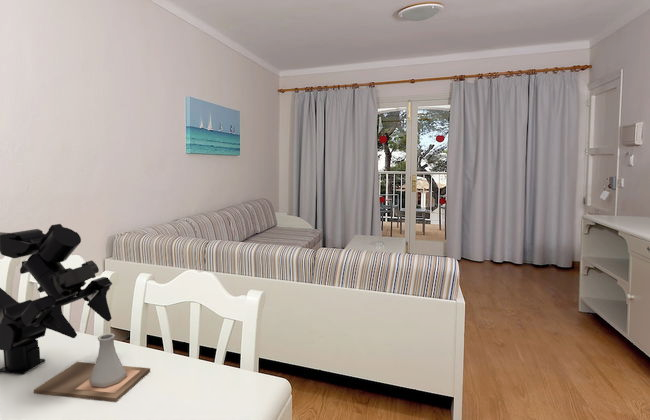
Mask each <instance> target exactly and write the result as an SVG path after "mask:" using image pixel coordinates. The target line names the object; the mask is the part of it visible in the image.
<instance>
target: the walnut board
mask: <svg viewBox="0 0 650 420" xmlns="http://www.w3.org/2000/svg"><path fill="white" fill-rule="evenodd" d="M95 363H96V362H95ZM95 363H94V362H86V361H85V362H84V361H83V362H82V361H75V363H73V364H71V365H70V366H68V367H67V368H65V369H64V370H62V371H60V372H59V373H58V374H56V375H55V376H53V377H51V378H50V379H49V380H47V381H45V382H44V383H42V384H40V385H39V386H38V387H35V388H34V389H33V394H38V395H45V396H46V395H48V396H57V397H66V398H76V399H84V400H94V401H105V402H113V403H116V402H118V401H119V400H120V399H121V398H122V397H124V396H125V394H127V393H128V392H129V391H130V390H131V389H133V388H134V387H135V386H136V384H138V383H139V382H141V380H143V378H145V377H146V376H147V375H148V374H149V373H151V367H150V368H149V367H141V366H128V365H123V367H124V369H125V371H126V373H127V375H128V376H126V377H125V378H124V379H123V380H121V381H120V382H119V383H116V384H113V385H110V386H107V387H96V386H92V385H91V383H90V382H89V379H90V376H91V373H92V371H93V368H94V366H95Z"/></svg>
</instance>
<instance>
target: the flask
mask: <svg viewBox="0 0 650 420" xmlns="http://www.w3.org/2000/svg"><path fill="white" fill-rule="evenodd" d="M115 338H116V335H115V334H114V333H110V332H109V333H104V334H101V335H100V336H97V340H98V343H99V347H98V355H97V357H96V360H95V366H94V368H93V371H92V373H91V376H90V379H89V382H90V383H91V385H92V386H96V387H107V386H110V385H113V384H116V383H119V382H120V381H121V380H123V379H124V378H125V377H126V376H128V375H127V373H126V371H125V369H124V367H123V366H124V365H123V363H122V362H121V360H120V357H119V355H118V353H117V351H116V346H115V342H114V341H115V340H114V339H115Z"/></svg>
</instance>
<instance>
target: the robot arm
mask: <svg viewBox="0 0 650 420" xmlns="http://www.w3.org/2000/svg"><path fill="white" fill-rule="evenodd" d="M81 242H82V238H81V236H80V234H79V233H78V231H75V230H73V229H71V228H68V227H65V226H63V225H62V223H57V224H51V225H50V226H49V228H48V231H47V232H46V233H43V230H41V229H39V228H35V229H28V230H22V231H21V230H20V231H15V232H4V231H3V232H2V231H1V232H0V254H1V255H2V256H3V257H4V256H5V257H8V258H10V259H11V258H12V259H18V258H24V257H27V256H29V257H28V258H27V260H23V261H22V262H21V266H20V269H19V273H20V274H21V275H23V274H26V273H29V274H30V275H31V276H32V277H33V279H34V280H35V281H36V283H37V284H38V285H39V287H38V288H37V291H38V292H39V293H40V294H41V293H43V292H44V293H45V294H46V296H42V297H39V298H37V299H34V300H31V299H28V300H25V301H22V302H21V301H20V302H19V301H17V300H16V299H15V298H13V297H12V296H11V295H10V294H9V293H8V292H6V291H5V290H4V289H3V288H2V287H0V351H3V362H4V366H3V367H1V368H0V373H3V374H11V375H12V374H14V375H23V374H26V373H27V372H29V371H31V370H32V369H34V368H36V367H37V366H40V365H41V364H43V363H45V362H46V359H45V358H41V353H40V352H41V351H40V350H41V349H40V346H39V339H40V338H42V337H45V336H46V331H47V330H51V331H54V332H57V333H59V334H61V335H64V336H65V337H68V338H71V339H75V338H76V337H77V336H78V333H77V332H76V330H75V328H74V327H73V325H72V324H71V323H70V322H69V320H68V319H67V318H66V317H65V315H64V314H63V310H62V307H63V306H66V305H69V304H72V303H74V302H76V301H79V300H81V299H83V300H84V301H85V302H88V303H87V304H86V305H87V307H89V308H90V309H92V310H93V311H94V312H95V313H96V314H98V315H99V316H100V317H101V319H104V320H105V321H106V322H110V321H111V320H112V318H113V317H112V315H111V311H110V308H109V304H108V300H107V294H108V292H109V291H110V287H111V286H112V285H113V282H112V281H111V280H110V279H109V277H106V276H101V277H98V278H96V274H98V273H99V271H100V270H99V269H100V268H99V267H98V265H97V264H96V262H94V260H88V261H86V262H83V263H82V264H81V266H79V267H76V268H71V267H68V268H66V267H64V265H63V264H62V263H63V262H65V261H67V260H68V259H69V257H70V256H71V255H72V253H73V252H75V250H76V249H77V248H78V246H80V244H81ZM94 278H96V279H94ZM91 279H94V280H91ZM88 280H91V281H90V282H89V283H88V284H87V282H86V281H88ZM86 284H87V285H86ZM85 285H86V286H85ZM84 286H85V288H83V287H84Z"/></svg>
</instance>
